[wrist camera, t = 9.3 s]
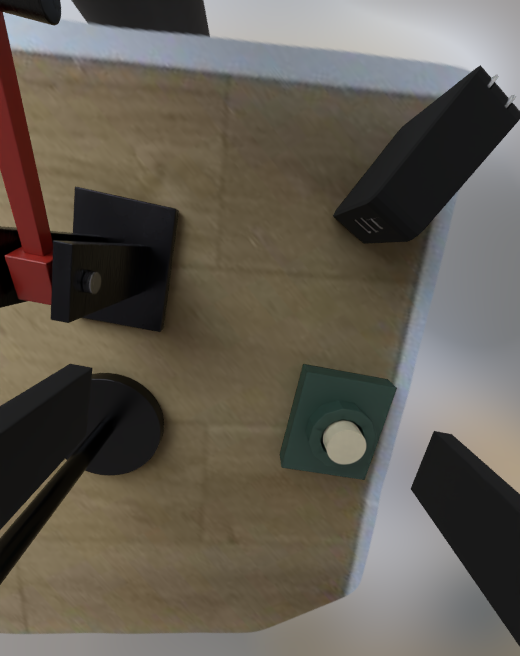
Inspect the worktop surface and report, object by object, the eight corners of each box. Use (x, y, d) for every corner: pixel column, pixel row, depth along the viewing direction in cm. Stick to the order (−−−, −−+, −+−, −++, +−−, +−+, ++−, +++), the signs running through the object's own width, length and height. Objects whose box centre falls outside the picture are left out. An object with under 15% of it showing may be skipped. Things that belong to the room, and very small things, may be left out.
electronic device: (330, 216, 29) (370, 200, 19) (401, 125, 27) (487, 57, 17) (360, 244, 30) (415, 242, 20) (432, 157, 28) (530, 109, 18)
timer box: (303, 363, 33) (310, 379, 29) (387, 379, 34) (405, 396, 30) (279, 454, 36) (283, 479, 32) (357, 466, 37) (370, 492, 33)
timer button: (328, 417, 31) (332, 427, 29) (364, 423, 31) (371, 433, 29) (318, 450, 32) (322, 461, 30) (354, 455, 32) (359, 467, 30)
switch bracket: (81, 189, 27) (-76, 132, 14) (179, 210, 28) (116, 175, 15) (75, 313, 30) (-60, 363, 17) (163, 329, 31) (100, 389, 18)
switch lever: (-88, -61, 11) (-165, -99, 9) (65, -19, 12) (22, -46, 10) (17, 275, 19) (-12, 294, 17) (103, 292, 20) (85, 311, 18)
